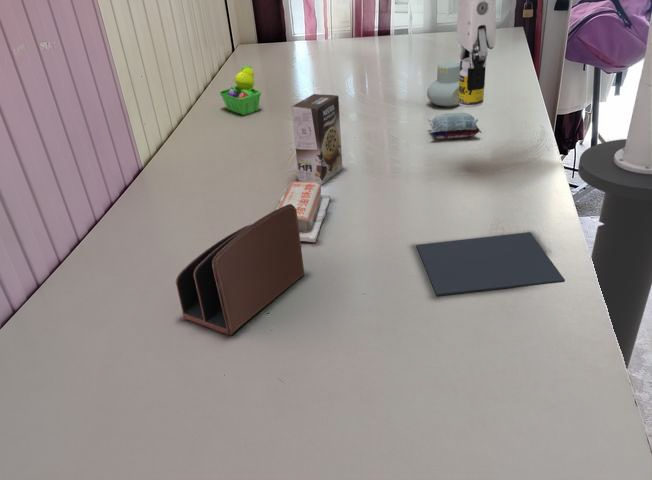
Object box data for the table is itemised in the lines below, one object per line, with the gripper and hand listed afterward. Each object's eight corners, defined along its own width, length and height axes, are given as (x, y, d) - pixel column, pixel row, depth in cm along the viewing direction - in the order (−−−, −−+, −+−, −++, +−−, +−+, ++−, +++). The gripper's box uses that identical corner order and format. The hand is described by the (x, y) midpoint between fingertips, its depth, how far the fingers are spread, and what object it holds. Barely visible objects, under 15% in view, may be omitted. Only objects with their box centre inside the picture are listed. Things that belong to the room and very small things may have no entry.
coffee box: (322, 185, 136) (316, 108, 126) (297, 181, 139) (289, 105, 129) (344, 169, 142) (339, 94, 132) (319, 165, 145) (313, 92, 135)
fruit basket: (221, 109, 184) (214, 68, 177) (246, 101, 188) (240, 61, 181) (242, 117, 177) (235, 75, 170) (268, 109, 180) (262, 67, 174)
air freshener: (446, 112, 164) (448, 71, 158) (422, 106, 170) (422, 67, 164) (472, 100, 170) (475, 60, 163) (448, 95, 175) (450, 56, 169)
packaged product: (280, 178, 129) (329, 178, 127) (283, 200, 132) (330, 200, 130) (260, 219, 115) (314, 219, 113) (263, 243, 118) (316, 243, 116)
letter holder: (305, 274, 108) (297, 197, 99) (230, 337, 96) (214, 255, 87) (259, 261, 113) (247, 187, 104) (183, 319, 101) (162, 240, 92)
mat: (529, 234, 111) (530, 232, 111) (564, 282, 99) (565, 279, 98) (416, 246, 112) (416, 244, 111) (436, 296, 99) (436, 294, 99)
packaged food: (427, 129, 156) (428, 109, 153) (477, 127, 154) (479, 106, 151) (429, 143, 149) (430, 122, 146) (481, 140, 147) (483, 119, 144)
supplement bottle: (453, 105, 127) (454, 60, 122) (469, 98, 129) (471, 54, 124) (472, 109, 124) (474, 64, 119) (488, 102, 126) (491, 57, 121)
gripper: (512, -17, 106) (504, 95, 117) (484, -30, 120) (478, 71, 131) (467, -11, 107) (463, 100, 118) (444, -25, 120) (442, 76, 131)
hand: (471, 84), depth 124 cm, fingers closed on supplement bottle, 4 cm apart
